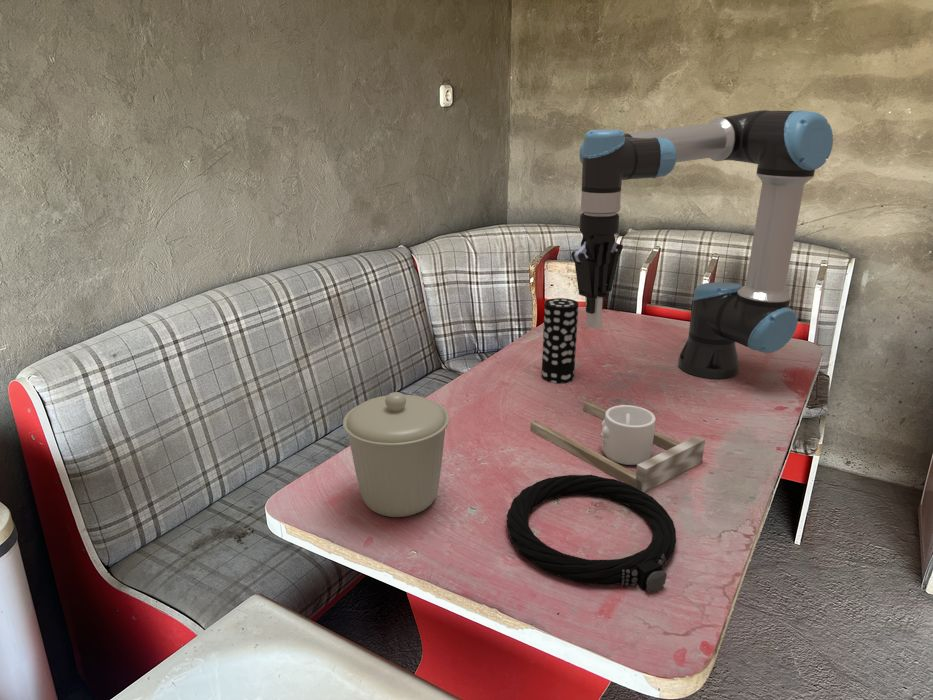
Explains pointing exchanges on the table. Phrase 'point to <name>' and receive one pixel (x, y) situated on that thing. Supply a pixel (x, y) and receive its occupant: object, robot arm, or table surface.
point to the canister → (397, 451)
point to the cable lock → (604, 572)
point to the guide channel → (647, 472)
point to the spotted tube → (559, 340)
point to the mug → (628, 434)
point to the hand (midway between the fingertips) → (593, 326)
